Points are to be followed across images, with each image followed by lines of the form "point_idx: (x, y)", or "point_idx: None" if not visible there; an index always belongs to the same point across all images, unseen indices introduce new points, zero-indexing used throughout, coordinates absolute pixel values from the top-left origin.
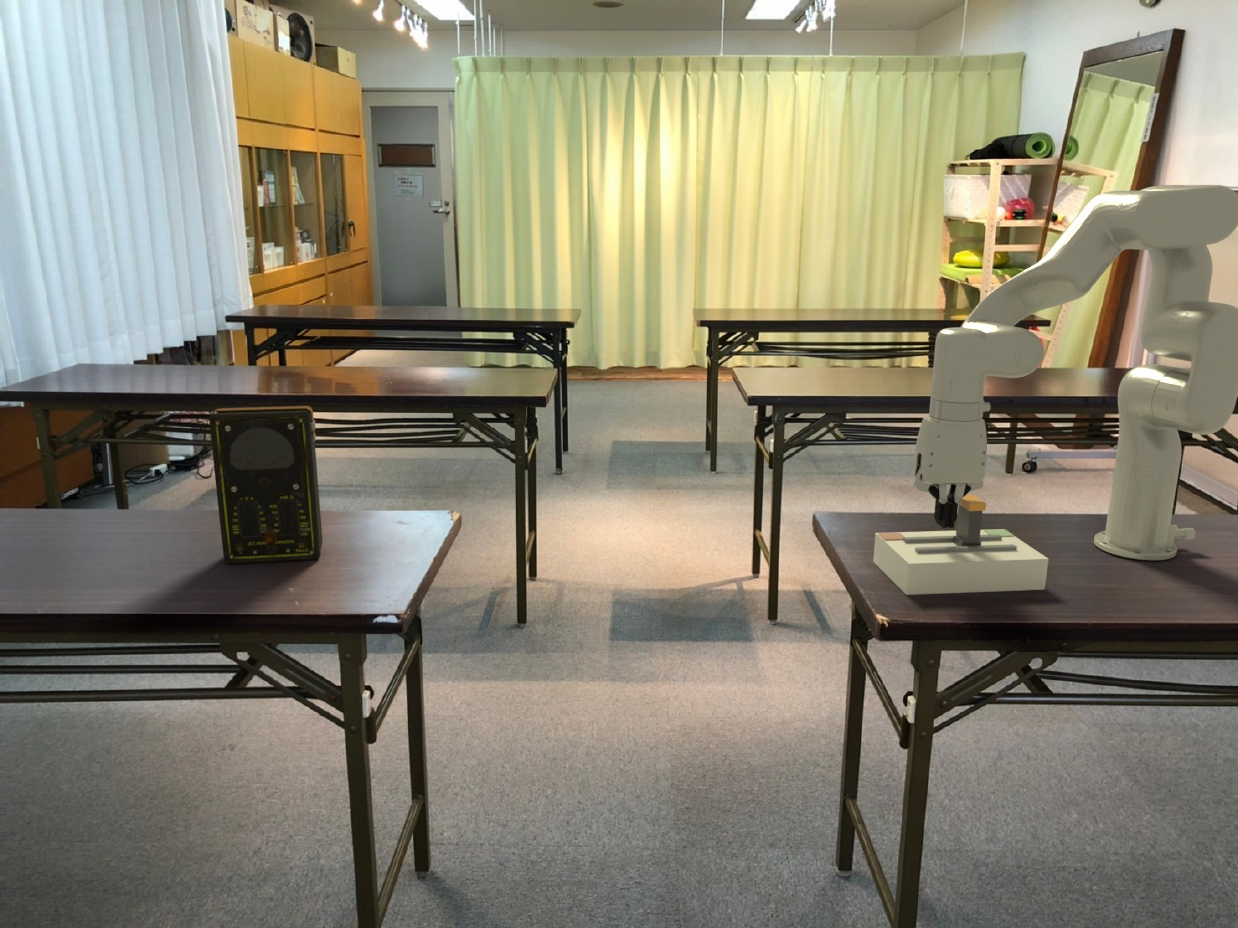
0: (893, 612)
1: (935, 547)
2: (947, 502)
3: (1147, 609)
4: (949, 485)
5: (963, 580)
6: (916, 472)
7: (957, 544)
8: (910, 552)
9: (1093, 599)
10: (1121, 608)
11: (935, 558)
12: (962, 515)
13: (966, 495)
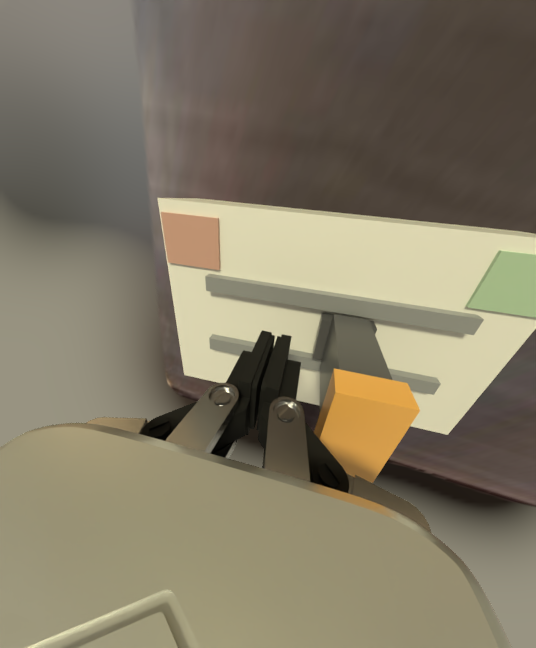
0: (179, 375)
1: (249, 349)
2: (259, 410)
3: (497, 464)
4: (266, 450)
5: None
6: (32, 435)
7: (316, 335)
8: (202, 336)
9: (459, 427)
10: (464, 452)
11: None
12: (329, 378)
13: (376, 409)
